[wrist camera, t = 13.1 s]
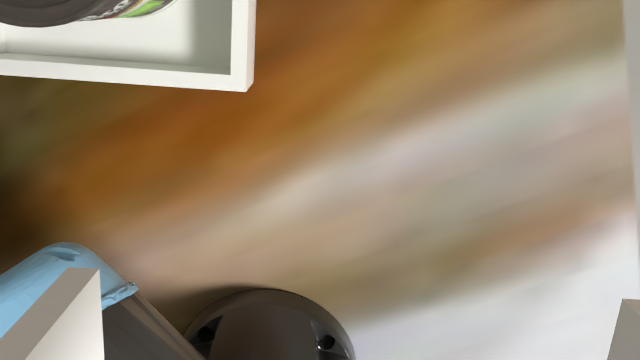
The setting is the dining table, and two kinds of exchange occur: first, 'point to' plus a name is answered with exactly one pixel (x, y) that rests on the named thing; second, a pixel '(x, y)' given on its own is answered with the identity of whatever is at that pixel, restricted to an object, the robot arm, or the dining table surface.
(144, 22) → the bin
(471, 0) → the dining table surface
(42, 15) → the coffee can
